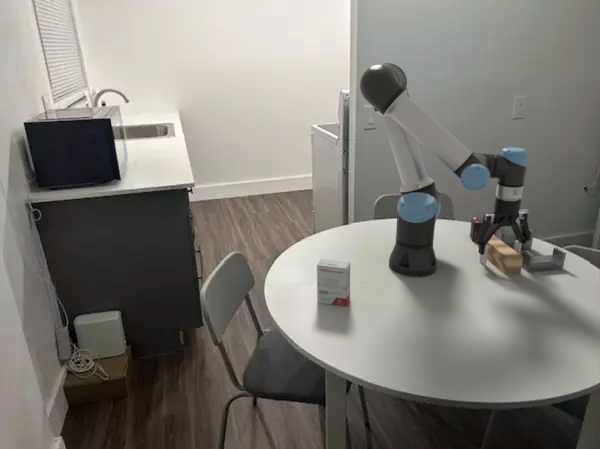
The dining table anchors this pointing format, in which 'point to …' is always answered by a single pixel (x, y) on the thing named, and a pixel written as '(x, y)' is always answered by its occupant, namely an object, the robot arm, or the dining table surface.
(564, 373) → the dining table surface
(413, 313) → the dining table surface
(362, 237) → the dining table surface
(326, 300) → the ink box
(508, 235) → the cup bracket
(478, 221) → the box
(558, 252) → the rest saddle
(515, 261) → the light wood long block
